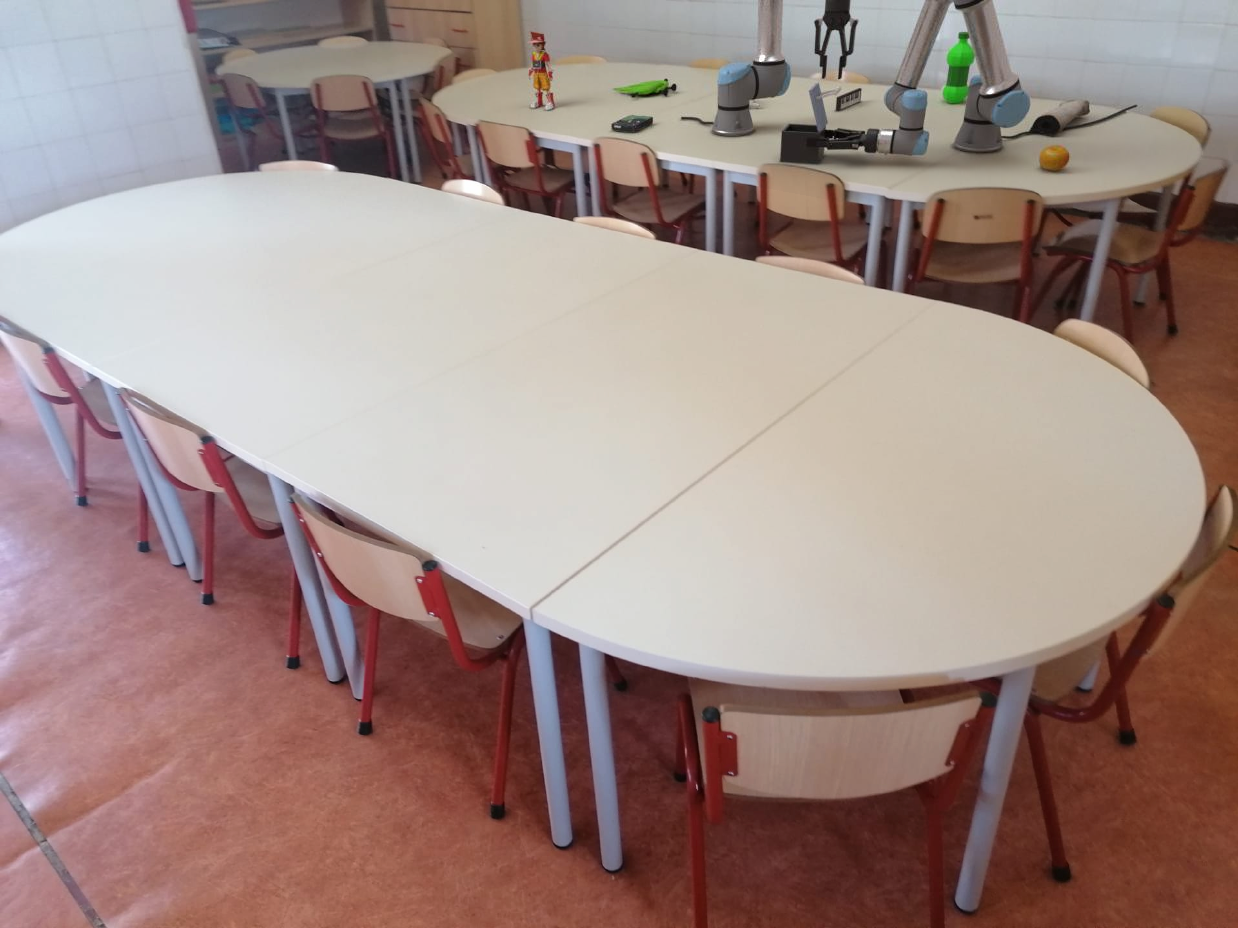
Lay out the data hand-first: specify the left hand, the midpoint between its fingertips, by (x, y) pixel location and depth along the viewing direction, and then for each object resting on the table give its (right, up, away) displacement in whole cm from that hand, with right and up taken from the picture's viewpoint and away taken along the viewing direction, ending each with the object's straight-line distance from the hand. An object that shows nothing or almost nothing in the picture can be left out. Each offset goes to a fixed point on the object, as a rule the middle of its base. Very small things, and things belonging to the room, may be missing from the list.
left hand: (831, 78), depth 287 cm
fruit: (+68, -31, -6) cm, 75 cm away
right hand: (-4, -15, +12) cm, 20 cm away
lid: (-3, -7, +7) cm, 10 cm away
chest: (-6, -20, +17) cm, 27 cm away
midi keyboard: (+24, +19, +71) cm, 78 cm away
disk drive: (-63, +7, +62) cm, 88 cm away
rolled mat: (+90, -3, +34) cm, 96 cm away
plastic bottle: (+65, +20, +68) cm, 96 cm away
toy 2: (-59, +41, +110) cm, 131 cm away
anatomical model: (-17, +23, +81) cm, 86 cm away
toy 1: (-101, +29, +96) cm, 142 cm away
